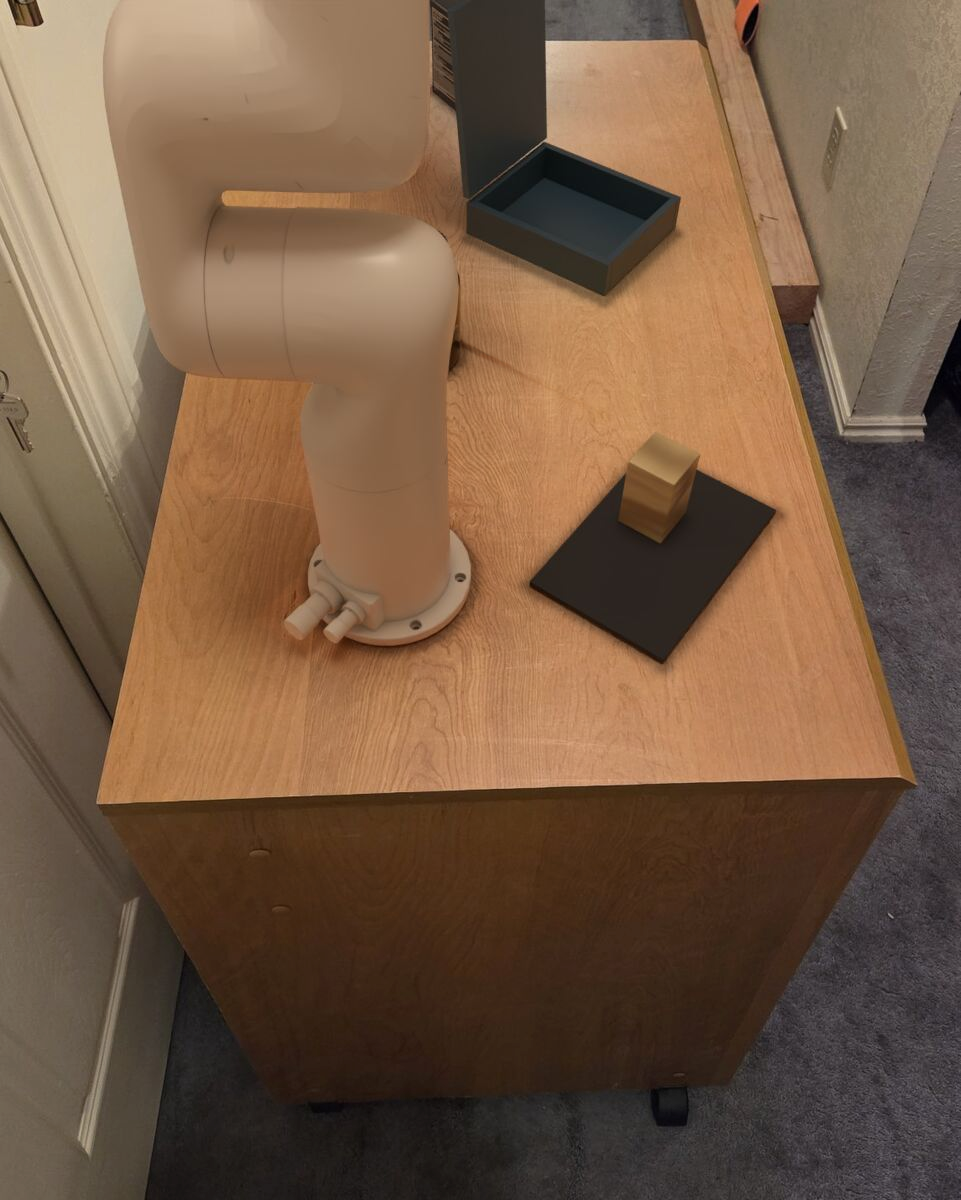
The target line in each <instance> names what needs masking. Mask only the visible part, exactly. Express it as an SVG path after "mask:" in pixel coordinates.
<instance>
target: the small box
mask: <svg viewBox="0 0 961 1200" xmlns="http://www.w3.org/2000/svg"><path fill="white" fill-rule="evenodd" d="M461 1H462V0H429V5H430V23H431V24H430V27H431V61H432V62H431V68H432V69H431V70H432V71H431V72H432V73H431V74H432V78H431V84H432V85H431V87H432V88H431V89H432V92H434V93H435V94H436V95H438V97H440V98H441V99H442V100H443V101H445V102H446V103H447V104H448V105H450V106H451V107H452V108H453V109H455V110H456V106H455V94H454V82H453V70H452V59H451V47H450V35H449V23H448V11H447V10H448V9H450V8H451V7H453V6H454V5H456V4H457V3H459V2H461Z"/></svg>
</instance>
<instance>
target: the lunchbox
mask: <svg viewBox="0 0 961 1200" xmlns="http://www.w3.org/2000/svg"><path fill="white" fill-rule="evenodd" d="M681 198H682V197H681V196H679V195H677V194H675V193H672V192H670V191H667V190H665V189H661V188H660V187H657V186H654V185H652V184H649V183H647V182H645V181H643V180H641V179H638V178H635V177H633V176H630V175H627V174H625V173H622V172H620V171H618V170H616V169H613V168H611V167H609V166H605V165H604V164H600V163H598V162H595V161H593V160H591V159H588V158H586V157H584V156H581V155H579V154H576V153H573V152H571V151H569V150H566V149H564V148H561V147H559V146H556V145H554V144H551V143H549V142H546V141H542V142H541V143H540V144H539V145H537V146H536V147H535V148H534V149H532V150H531V151H530V152H528V153H527V154H526V155H525V156H523V157H522V158H521V159H520V160H518V161H517V162H516V163H515V164H513V165H512V166H511V167H509V168H508V169H507V170H506V171H504V172H503V173H502V174H501V175H499V176H498V177H497V178H495V179H494V180H493V181H492V182H490V183H489V184H488V185H487V186H485V187H484V188H483V189H481V190H480V191H479V192H478V193H476V194H475V195H474V196H473V197H471V198H470V199H468V201H466V209H465V210H466V234H467V235H469V236H471V237H473V238H476V239H477V240H480V241H482V242H484V243H486V244H489V245H491V246H493V247H495V248H498V249H500V250H502V251H503V252H506V253H508V254H510V255H513V256H515V257H517V258H519V259H521V260H524V261H526V262H528V263H531V264H532V265H535V266H537V267H539V268H541V269H544V270H545V271H548V272H550V273H552V274H554V275H556V276H559V277H561V278H562V279H565V280H568V281H570V282H572V283H574V284H576V285H579V286H581V287H583V288H584V289H587V290H589V291H591V292H594V293H596V294H598V295H600V296H603V297H605V296H607V295H608V293H610V292H611V291H612V289H614V288H615V287H616V286H617V285H618V284H619V283H620V282H621V281H622V280H623V279H624V278H625V277H626V276H627V275H628V274H629V273H630V272H631V271H633V269H635V268H636V267H637V266H638V264H640V263H641V262H642V261H643V260H644V259H645V258H646V257H647V256H648V255H649V254H650V253H651V252H652V251H653V250H654V249H655V248H657V247H658V245H660V243H662V242H663V241H664V240H665V239H666V238H667V237H668V236H669V235H670V234H671V233H673V231H674V230H675V229H676V228H677V223H678V217H679V211H680V205H681V200H682V199H681Z"/></svg>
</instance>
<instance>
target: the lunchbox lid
mask: <svg viewBox="0 0 961 1200" xmlns="http://www.w3.org/2000/svg"><path fill="white" fill-rule="evenodd" d="M447 11H448V23H449V35H450V47H451V59H452V70H453V82H454V94H455V106H456V109H455V115H456V118H455V119H456V127H457V141H458V151H459V152H458V153H459V164H460V175H461V177H460V178H461V186H462V187H461V188H462V197H463V198H465V199H468V200H470V199H472V198H473V197H474V196H476V195H477V194H478V193H479V192H481V191H482V190H483V189H484V188H486V187H487V186H488V185H490V184H491V183H492V182H493V181H495V180H496V179H497V178H498V177H500V176H501V175H502V174H504V173H505V172H506V171H507V170H509V169H510V168H511V167H512V166H514V165H515V164H516V163H517V162H519V161H520V160H521V159H523V158H524V157H525V156H526V155H528V154H529V153H530V152H531V151H533V150H534V149H535V148H537V147H538V146H539V145H540V144H541V143H543V142H545V140H546V139H548V121H547V120H548V111H547V50H546V46H547V45H546V44H547V43H546V42H547V40H546V0H462V1H461V2H459V3H457V4H456V5H454V6H453V7H451V8H450V9H448V10H447Z"/></svg>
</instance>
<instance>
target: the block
mask: <svg viewBox="0 0 961 1200" xmlns="http://www.w3.org/2000/svg"><path fill="white" fill-rule="evenodd" d="M700 458H701V453H700V452H698V451H696V450H694V449H692V448H690V447H688V446H687V445H684V444H683V443H680V442H678V441H676V440H675V439H672V438H670V437H669V436H666V435H664V434H662V433H660V432H659V431H654V432H653V433H652V434H651V435H650V437H649V438H648V439H647V440H646V441H645V442H644V444H642V445H641V447H640V448H639V449H638V450H637V451H636V452H635V454H634V455H632V457H631V458H630V459H629V460H628V462H627V468H626V472H627V473H626V472H625V474H626V479H625V485H624V490H623V496H622V502H621V508H620V513H619V519H618V521H620V522H621V523H623V524H625V525H627V526H629V527H631V528H633V529H634V530H636V531H638V532H640V533H642V534H644V535H645V536H647V537H649V538H651V539H653V540H655V541H657V542H658V543H661V542H662V541H663V540H664V539H665V537H666V536H667V535H668V534H669V533H670V531H671V530H672V529H673V528H674V526H675V525H676V524H677V523H678V522H679V520H680V519H681V518H682V517H683V515H684V514H685V513H686V509H687V505H688V501H689V497H690V493H691V489H692V485H693V481H694V477H695V473H696V469H697V470H698V466H699V462H700Z"/></svg>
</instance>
